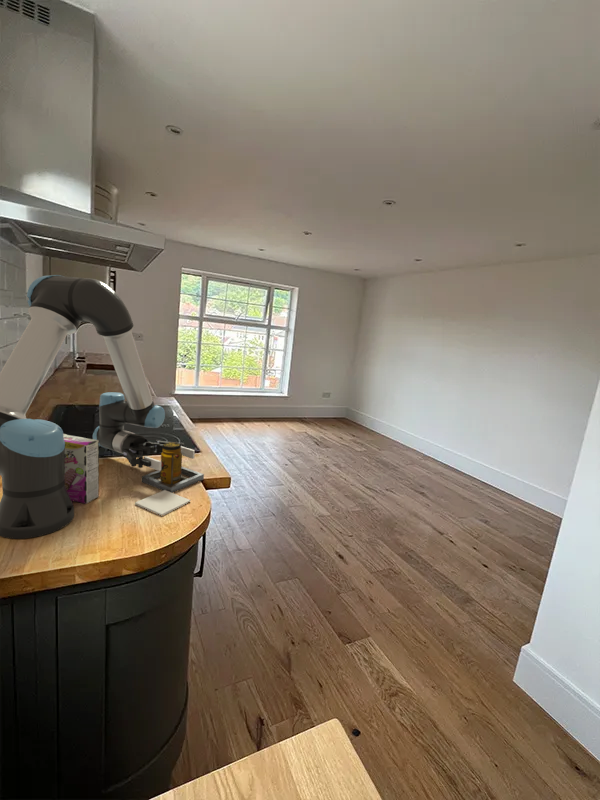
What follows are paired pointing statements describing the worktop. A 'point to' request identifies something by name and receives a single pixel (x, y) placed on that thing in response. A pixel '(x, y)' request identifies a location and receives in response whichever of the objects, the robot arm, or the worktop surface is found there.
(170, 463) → the condiment
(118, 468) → the worktop surface
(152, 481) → the socket
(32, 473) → the robot arm
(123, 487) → the worktop surface
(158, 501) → the tile
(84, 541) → the worktop surface
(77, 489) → the candy bar box
